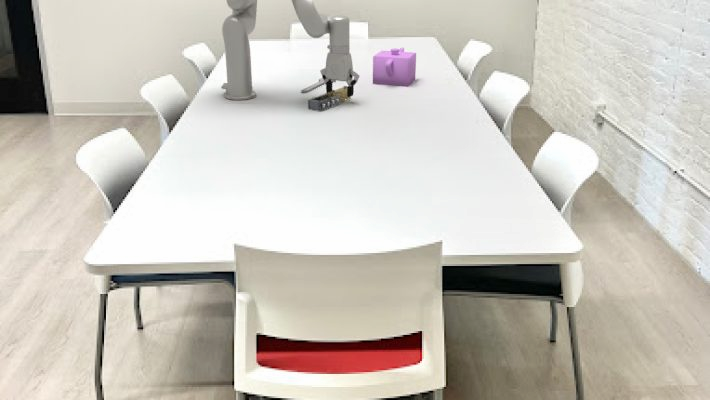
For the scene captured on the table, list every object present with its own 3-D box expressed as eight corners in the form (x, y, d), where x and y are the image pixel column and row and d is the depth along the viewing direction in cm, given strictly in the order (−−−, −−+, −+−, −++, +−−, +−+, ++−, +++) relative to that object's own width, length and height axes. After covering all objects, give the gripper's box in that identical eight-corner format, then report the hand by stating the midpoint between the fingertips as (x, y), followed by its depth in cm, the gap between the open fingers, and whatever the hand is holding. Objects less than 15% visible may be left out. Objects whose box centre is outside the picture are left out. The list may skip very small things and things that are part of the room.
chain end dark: (306, 108, 280) (306, 99, 278) (316, 105, 284) (316, 96, 283) (322, 111, 276) (321, 102, 275) (331, 107, 281) (331, 98, 279)
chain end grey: (317, 104, 285) (317, 95, 284) (325, 101, 289) (325, 92, 288) (332, 107, 281) (332, 98, 280) (340, 104, 285) (340, 95, 284)
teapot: (419, 76, 329) (420, 44, 324) (404, 89, 307) (405, 55, 302) (385, 73, 334) (386, 42, 328) (369, 86, 312) (369, 52, 306)
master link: (327, 104, 286) (327, 91, 284) (345, 97, 296) (345, 84, 294) (332, 105, 285) (332, 91, 283) (350, 98, 294) (350, 85, 293)
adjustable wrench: (305, 95, 301) (305, 90, 300) (292, 93, 303) (292, 88, 303) (338, 81, 321) (338, 77, 320) (325, 80, 323) (325, 76, 323)
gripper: (314, 48, 285) (315, 93, 291) (353, 53, 276) (353, 99, 282) (326, 45, 290) (327, 89, 297) (364, 50, 282) (363, 95, 288)
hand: (339, 94), depth 290 cm, fingers open, 9 cm apart
